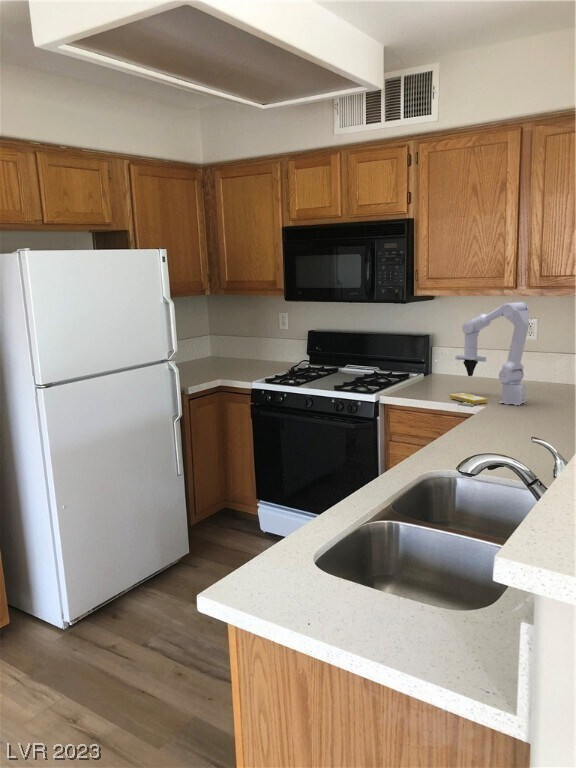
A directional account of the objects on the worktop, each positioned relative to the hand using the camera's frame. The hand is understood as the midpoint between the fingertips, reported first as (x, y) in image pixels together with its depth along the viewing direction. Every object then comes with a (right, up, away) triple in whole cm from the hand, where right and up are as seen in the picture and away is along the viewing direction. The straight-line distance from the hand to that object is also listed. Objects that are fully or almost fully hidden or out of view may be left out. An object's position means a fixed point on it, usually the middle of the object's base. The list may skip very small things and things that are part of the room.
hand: (470, 375), depth 288 cm
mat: (-5, -13, -16) cm, 21 cm away
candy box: (-8, -11, -13) cm, 19 cm away
